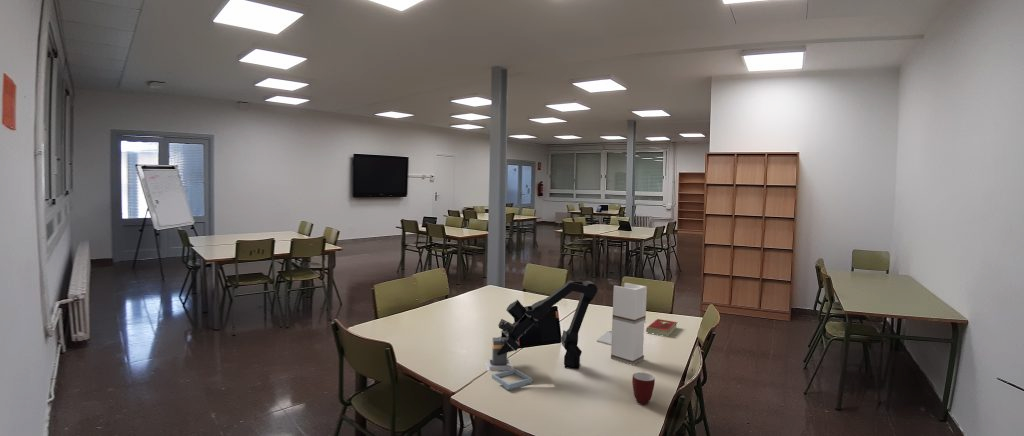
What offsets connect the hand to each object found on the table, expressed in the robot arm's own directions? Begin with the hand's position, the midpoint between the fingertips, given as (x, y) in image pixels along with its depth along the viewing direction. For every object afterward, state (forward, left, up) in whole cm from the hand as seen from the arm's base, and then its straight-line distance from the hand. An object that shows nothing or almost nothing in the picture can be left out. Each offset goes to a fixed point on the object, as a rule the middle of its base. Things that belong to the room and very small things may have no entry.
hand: (496, 351), depth 209 cm
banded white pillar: (-56, -30, -8) cm, 64 cm away
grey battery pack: (-1, -1, -7) cm, 7 cm away
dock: (-1, -1, -8) cm, 8 cm away
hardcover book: (-75, -82, -8) cm, 112 cm away
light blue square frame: (-10, +12, -8) cm, 18 cm away
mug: (-62, +14, -8) cm, 64 cm away
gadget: (-52, -58, -8) cm, 78 cm away
